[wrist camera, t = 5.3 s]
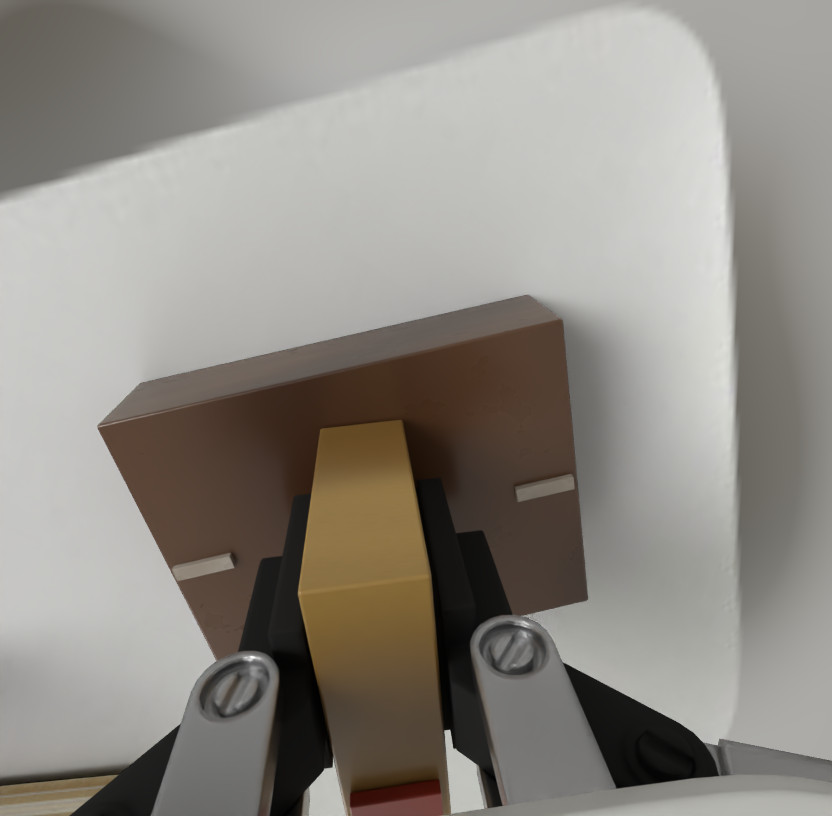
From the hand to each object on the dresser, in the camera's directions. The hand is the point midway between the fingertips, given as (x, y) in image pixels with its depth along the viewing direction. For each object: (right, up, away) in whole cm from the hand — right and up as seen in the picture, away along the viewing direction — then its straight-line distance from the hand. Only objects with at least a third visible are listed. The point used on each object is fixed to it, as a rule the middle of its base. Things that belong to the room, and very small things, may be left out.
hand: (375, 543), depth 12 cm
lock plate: (0, +1, +3) cm, 3 cm away
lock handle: (0, 0, +1) cm, 1 cm away
